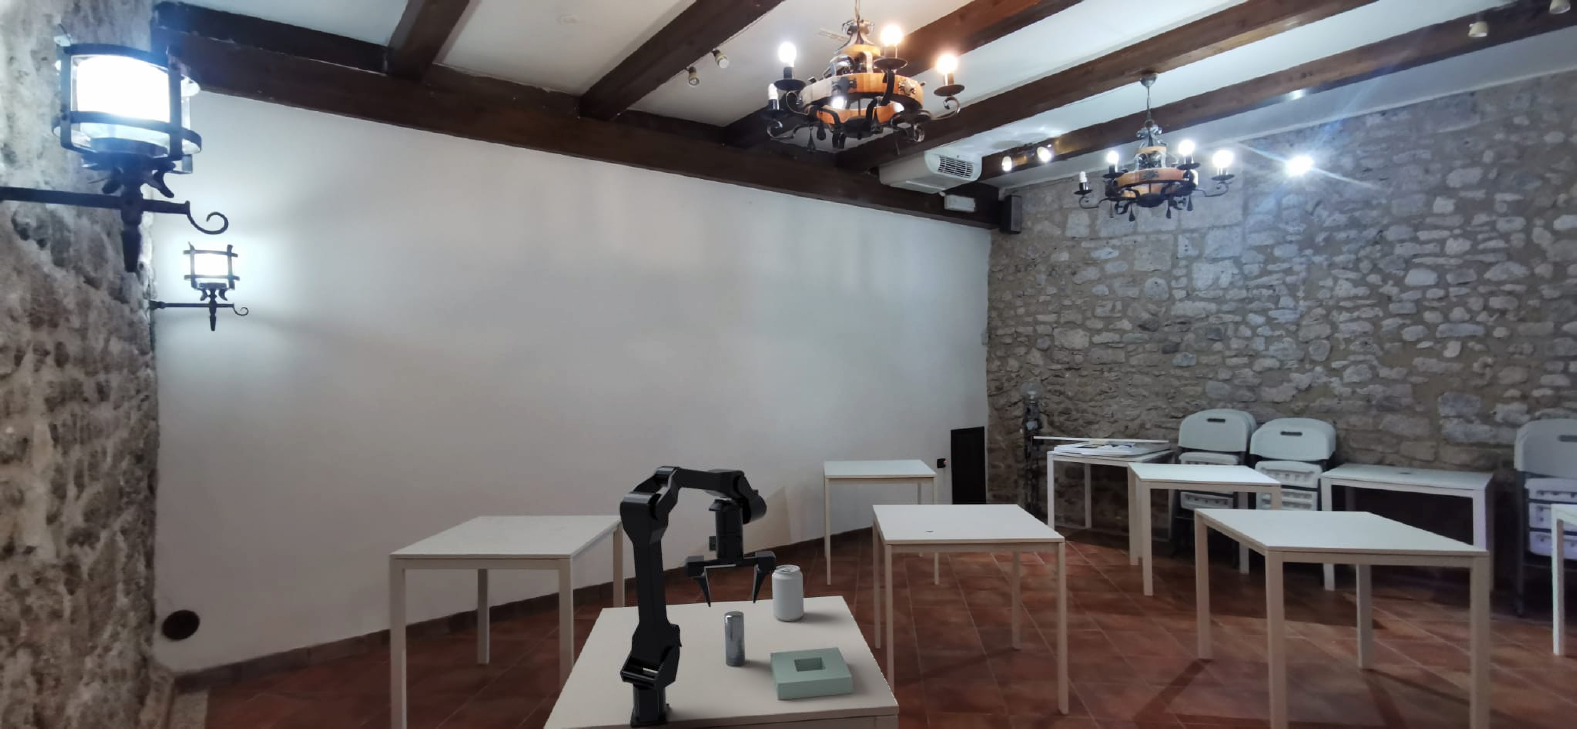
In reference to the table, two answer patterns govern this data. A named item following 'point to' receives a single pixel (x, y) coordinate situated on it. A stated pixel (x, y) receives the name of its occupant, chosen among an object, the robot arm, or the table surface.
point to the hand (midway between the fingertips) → (732, 604)
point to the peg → (734, 638)
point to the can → (787, 593)
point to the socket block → (810, 673)
